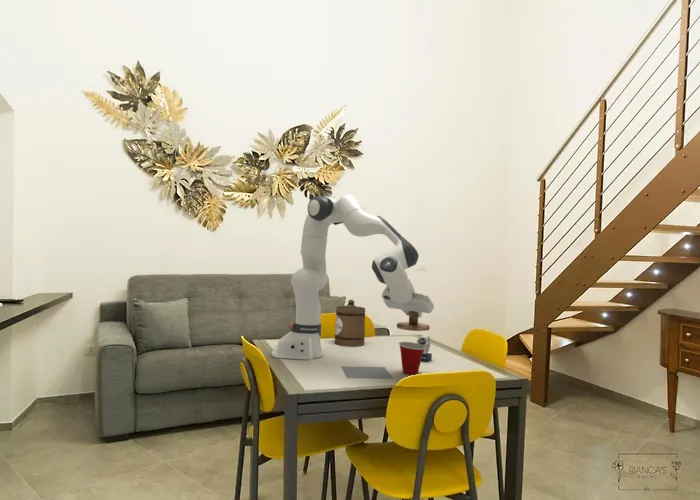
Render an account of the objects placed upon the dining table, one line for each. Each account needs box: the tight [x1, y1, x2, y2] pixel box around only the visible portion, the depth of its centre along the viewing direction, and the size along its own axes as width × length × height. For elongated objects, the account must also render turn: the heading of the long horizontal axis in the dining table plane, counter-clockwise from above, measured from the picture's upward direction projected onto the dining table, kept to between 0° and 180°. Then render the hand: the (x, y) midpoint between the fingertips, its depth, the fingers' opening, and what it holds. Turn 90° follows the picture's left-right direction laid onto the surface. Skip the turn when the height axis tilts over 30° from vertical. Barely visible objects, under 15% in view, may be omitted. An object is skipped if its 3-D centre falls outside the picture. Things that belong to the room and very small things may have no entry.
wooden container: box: [334, 299, 366, 347], centre depth 269 cm, size 15×15×22 cm
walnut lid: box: [396, 311, 431, 332], centre depth 214 cm, size 13×13×8 cm
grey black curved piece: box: [416, 335, 433, 363], centre depth 240 cm, size 6×8×11 cm
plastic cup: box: [398, 341, 426, 376], centre depth 214 cm, size 11×11×12 cm
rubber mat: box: [341, 365, 394, 380], centre depth 212 cm, size 18×18×1 cm
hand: (414, 315), depth 214 cm, fingers closed on walnut lid, 4 cm apart
